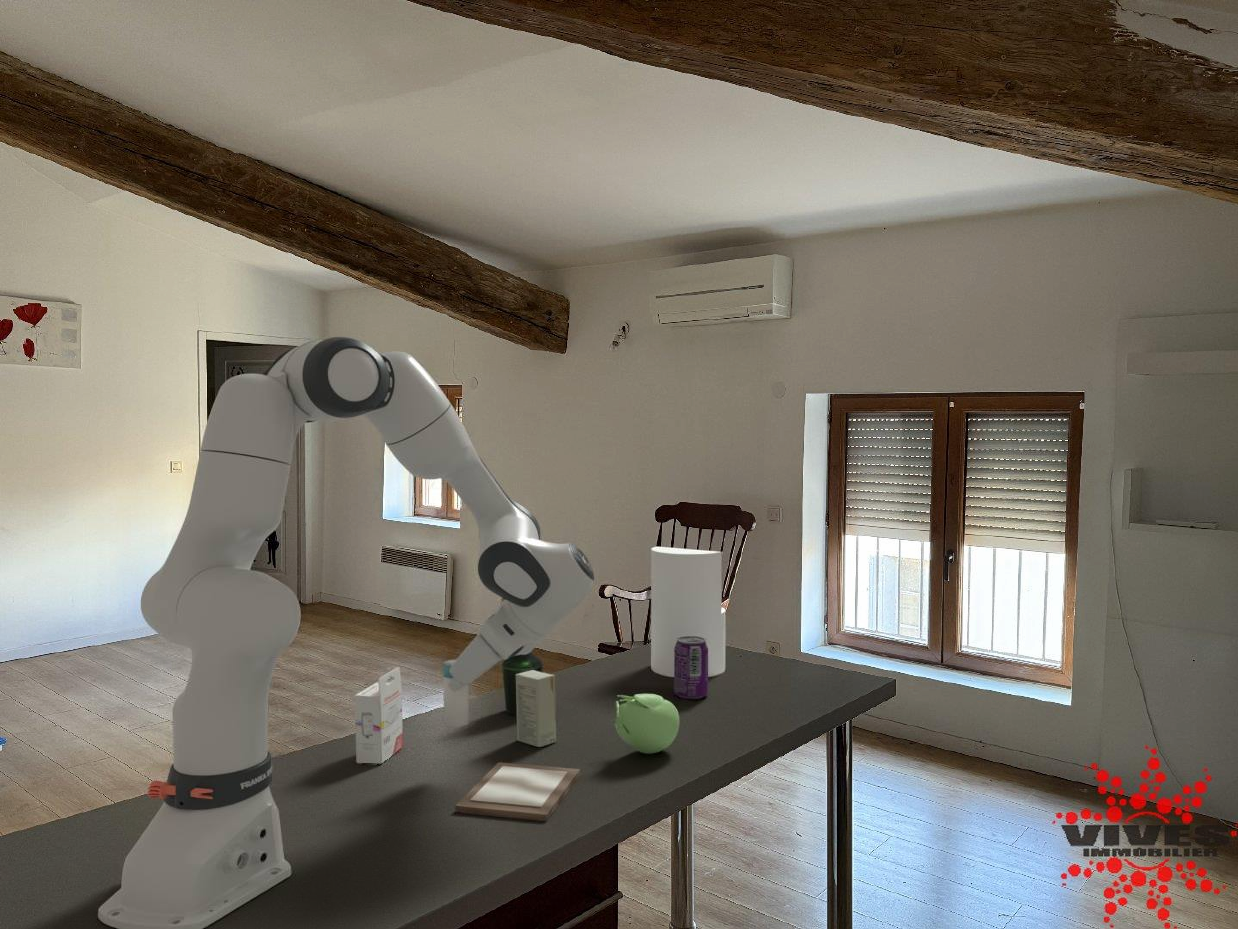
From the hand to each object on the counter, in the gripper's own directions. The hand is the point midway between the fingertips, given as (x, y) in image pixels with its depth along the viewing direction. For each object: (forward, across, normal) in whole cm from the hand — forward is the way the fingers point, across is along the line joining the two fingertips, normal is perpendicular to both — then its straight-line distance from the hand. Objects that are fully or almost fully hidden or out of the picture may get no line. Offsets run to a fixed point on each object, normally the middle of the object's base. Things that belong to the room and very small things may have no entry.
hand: (459, 683), depth 151 cm
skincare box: (+5, -17, +16) cm, 24 cm away
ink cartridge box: (+22, -4, -1) cm, 23 cm away
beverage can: (-11, -51, +32) cm, 61 cm away
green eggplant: (-9, -15, +30) cm, 35 cm away
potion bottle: (+11, -33, +10) cm, 36 cm away
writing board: (+2, +6, +19) cm, 20 cm away
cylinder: (-9, -73, +29) cm, 79 cm away
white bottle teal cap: (+5, 0, +4) cm, 7 cm away
